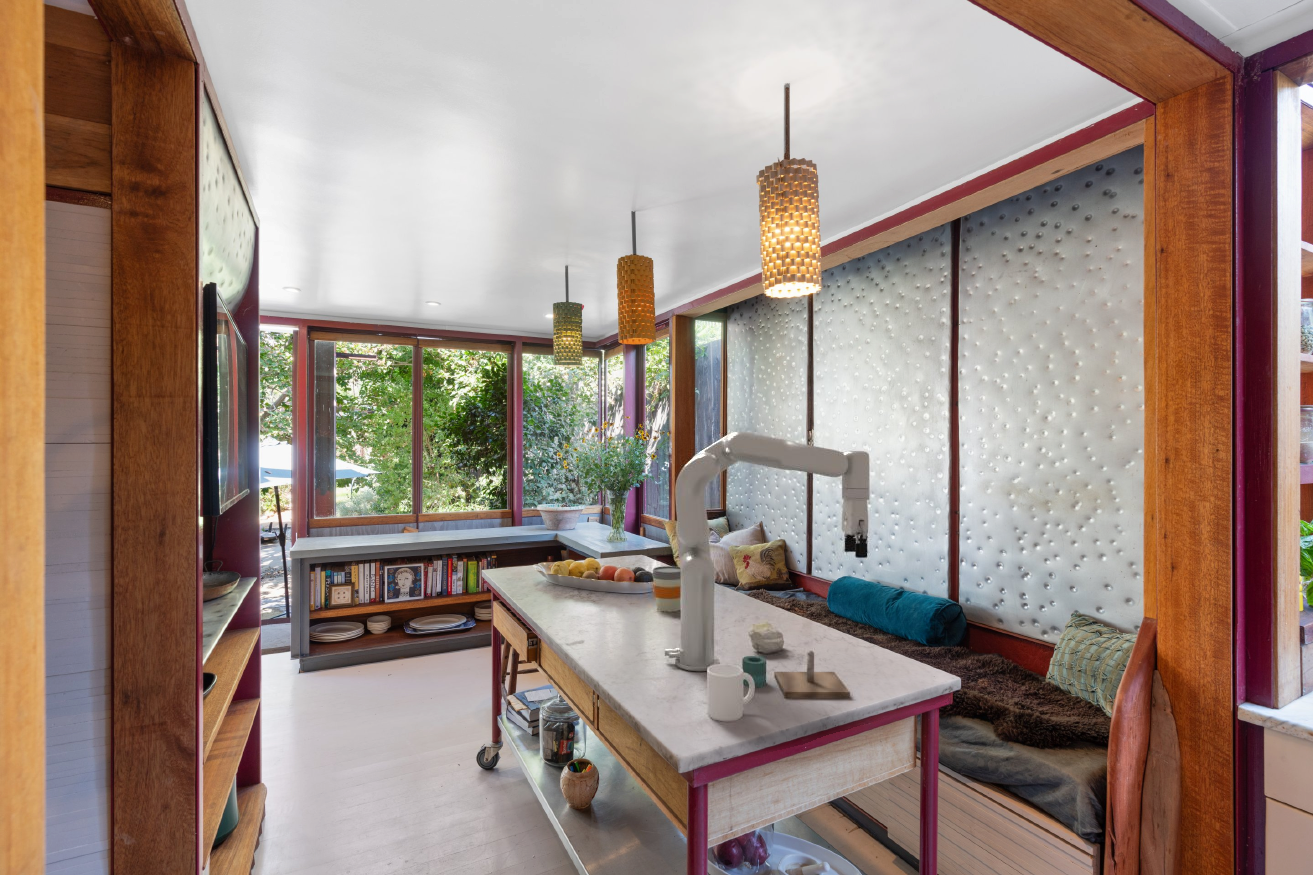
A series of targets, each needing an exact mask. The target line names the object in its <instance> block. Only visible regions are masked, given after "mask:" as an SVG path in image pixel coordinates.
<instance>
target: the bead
mask: <svg viewBox="0 0 1313 875" xmlns="http://www.w3.org/2000/svg"><path fill="white" fill-rule="evenodd" d="M741 660H742V663H741V664H742V665H741V666H742V667H741V668H742V669H743V673H747V674H749V675H750V676H751V677H752V678H753V680H754V684H755V688H761V687H765V686H766V685H767V660H766V658H764V657H763V656H757V655H747V656H744V657H742V659H741ZM744 685H745V686H746V687H749V683H748V681H747V680H746V679H743V686H744Z"/></svg>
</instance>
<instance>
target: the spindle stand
mask: <svg viewBox="0 0 1313 875" xmlns="http://www.w3.org/2000/svg"><path fill="white" fill-rule="evenodd" d="M773 673H774V679H775V681H776V683H777V686H778V687H779V689H780V691H781V693H782V695H783V697H784V699H851V691H850V690H849V689H848V688H847V686H846V685H845V684H844V682H843V681H842V680H841V679H840V677H839V676H838V675H837V673H836V672H835V671H815V652H814V651H813V650H808V651H807V653H806V671H774V672H773Z"/></svg>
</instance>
